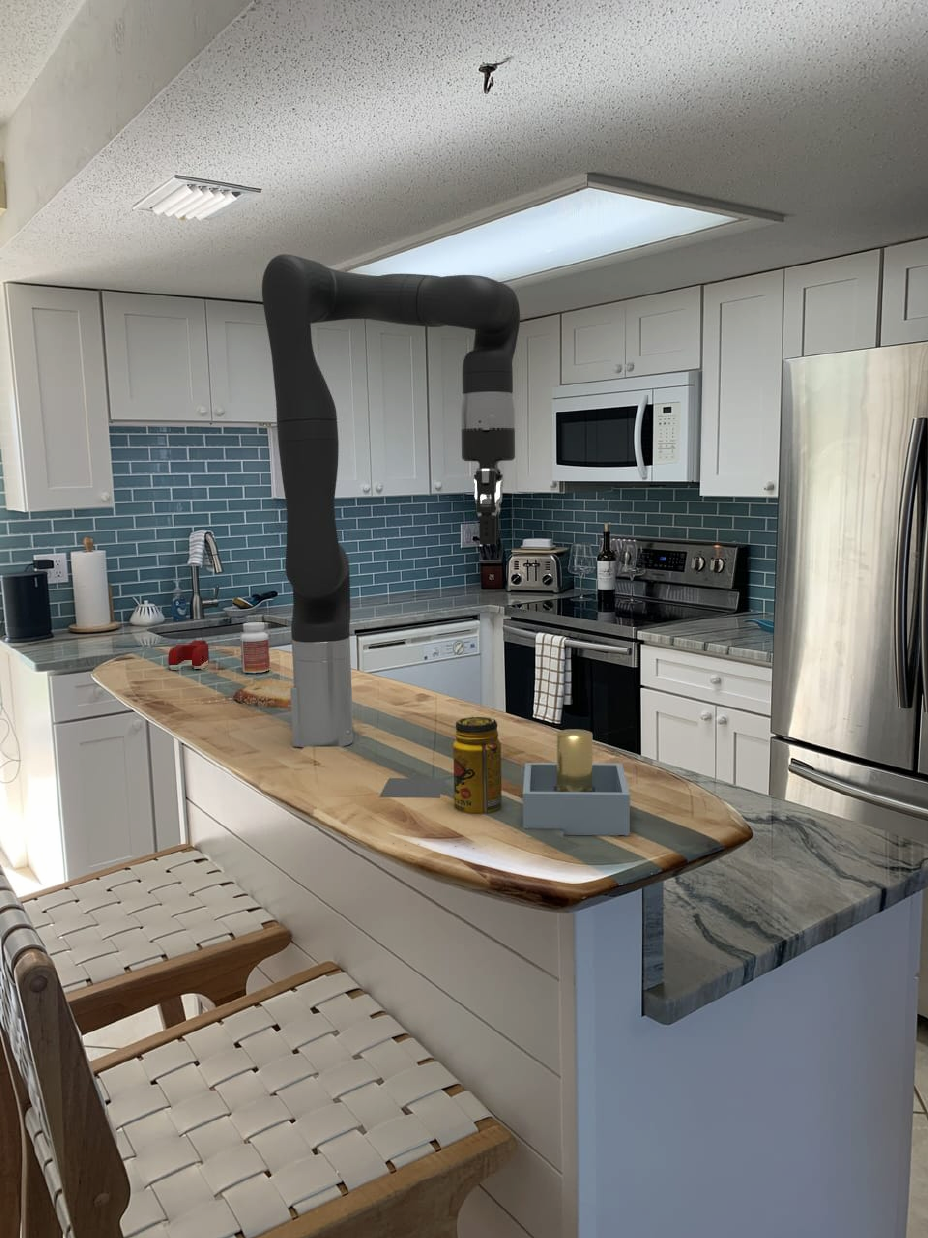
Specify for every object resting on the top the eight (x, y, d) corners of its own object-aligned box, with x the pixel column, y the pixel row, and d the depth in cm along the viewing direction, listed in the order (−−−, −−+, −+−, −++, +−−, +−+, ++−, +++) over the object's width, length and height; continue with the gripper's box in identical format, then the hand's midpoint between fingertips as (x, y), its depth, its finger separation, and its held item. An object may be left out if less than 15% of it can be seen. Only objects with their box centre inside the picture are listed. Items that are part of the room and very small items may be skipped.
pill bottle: (275, 672, 218) (273, 623, 216) (251, 676, 214) (249, 626, 212) (260, 668, 222) (258, 620, 221) (236, 672, 218) (234, 623, 217)
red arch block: (200, 672, 221) (199, 650, 220) (169, 672, 220) (167, 650, 220) (217, 659, 236) (216, 638, 236) (187, 659, 236) (186, 639, 236)
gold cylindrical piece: (554, 818, 120) (553, 739, 118) (553, 804, 125) (553, 728, 123) (596, 819, 119) (596, 739, 118) (594, 805, 124) (594, 728, 123)
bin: (523, 834, 116) (522, 793, 115) (525, 799, 129) (525, 763, 128) (629, 835, 115) (630, 795, 114) (621, 800, 127) (622, 763, 127)
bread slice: (343, 705, 186) (342, 686, 186) (249, 716, 179) (248, 696, 178) (315, 688, 202) (314, 670, 202) (228, 697, 195) (227, 679, 194)
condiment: (440, 813, 124) (438, 722, 122) (482, 796, 130) (480, 709, 129) (484, 826, 119) (483, 730, 118) (525, 807, 126) (525, 717, 124)
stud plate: (379, 802, 128) (379, 796, 128) (389, 783, 136) (389, 778, 136) (439, 803, 128) (439, 797, 128) (445, 784, 136) (445, 778, 136)
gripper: (465, 429, 144) (467, 539, 147) (456, 424, 130) (458, 546, 133) (516, 428, 144) (517, 538, 146) (512, 423, 130) (513, 545, 132)
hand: (489, 542), depth 139 cm, fingers open, 8 cm apart
